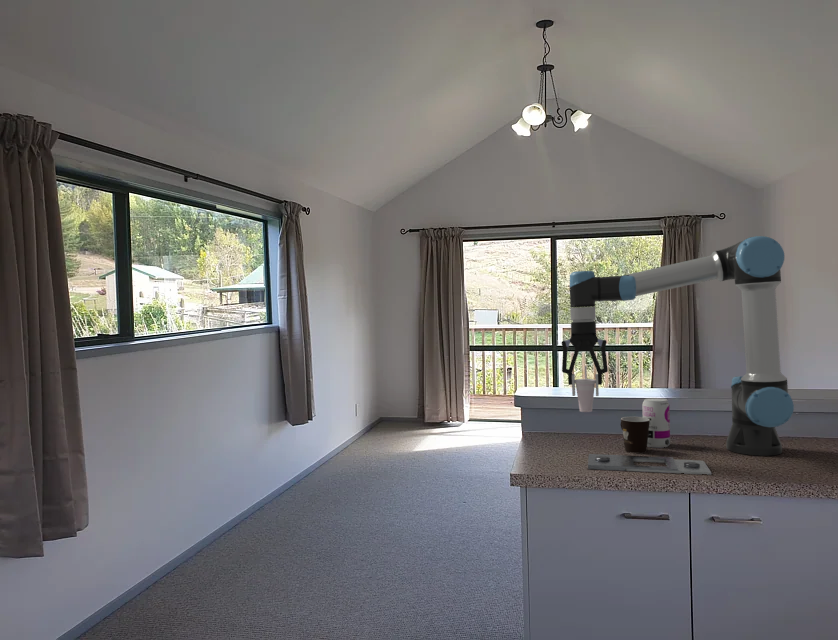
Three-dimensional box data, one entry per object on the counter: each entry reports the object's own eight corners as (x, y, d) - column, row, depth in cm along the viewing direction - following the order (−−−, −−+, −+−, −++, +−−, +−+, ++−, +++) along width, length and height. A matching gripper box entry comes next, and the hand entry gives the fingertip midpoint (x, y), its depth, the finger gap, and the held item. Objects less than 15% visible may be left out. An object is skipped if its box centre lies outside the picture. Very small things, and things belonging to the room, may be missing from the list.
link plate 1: (672, 461, 178) (672, 455, 178) (678, 473, 166) (678, 466, 166) (588, 457, 185) (588, 451, 185) (588, 469, 173) (587, 462, 173)
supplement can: (672, 444, 200) (671, 398, 200) (667, 449, 193) (666, 402, 193) (646, 441, 205) (645, 397, 204) (640, 446, 198) (639, 400, 197)
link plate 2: (703, 462, 176) (703, 458, 176) (711, 474, 164) (711, 470, 164) (624, 459, 182) (624, 455, 182) (626, 470, 170) (626, 466, 170)
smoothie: (600, 410, 189) (599, 365, 189) (590, 413, 185) (589, 367, 184) (581, 408, 194) (580, 364, 194) (571, 411, 189) (570, 366, 189)
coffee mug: (652, 454, 188) (651, 421, 187) (623, 453, 189) (622, 421, 189) (646, 445, 199) (645, 415, 199) (618, 445, 201) (618, 414, 200)
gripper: (615, 319, 189) (617, 393, 190) (552, 321, 195) (554, 393, 196) (616, 320, 182) (618, 397, 183) (550, 322, 188) (552, 396, 188)
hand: (585, 395), depth 189 cm, fingers closed on smoothie, 6 cm apart
